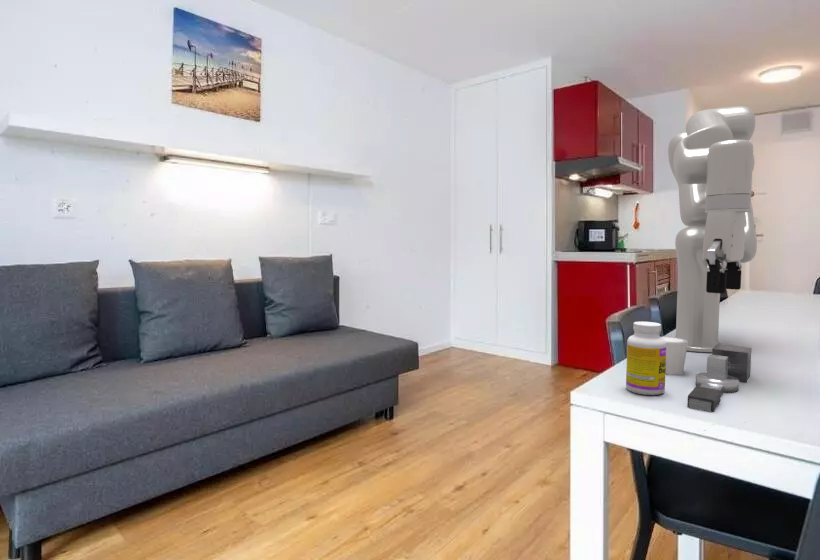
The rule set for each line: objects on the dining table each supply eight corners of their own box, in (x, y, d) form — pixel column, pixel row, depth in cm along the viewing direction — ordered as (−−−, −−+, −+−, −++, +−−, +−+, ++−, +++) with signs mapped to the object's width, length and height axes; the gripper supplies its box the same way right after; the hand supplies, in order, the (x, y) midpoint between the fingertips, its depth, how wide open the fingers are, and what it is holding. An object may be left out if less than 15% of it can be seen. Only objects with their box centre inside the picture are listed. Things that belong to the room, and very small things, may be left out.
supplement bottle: (663, 398, 87) (665, 327, 86) (623, 392, 90) (625, 324, 89) (666, 388, 93) (668, 322, 91) (628, 383, 96) (630, 319, 95)
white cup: (691, 376, 101) (692, 343, 100) (655, 374, 102) (656, 342, 101) (680, 367, 107) (681, 336, 107) (646, 366, 109) (647, 335, 108)
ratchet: (699, 380, 98) (700, 351, 97) (740, 386, 93) (742, 356, 93) (676, 405, 83) (677, 371, 83) (724, 415, 79) (725, 379, 78)
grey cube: (716, 371, 104) (717, 343, 104) (750, 376, 100) (751, 347, 100) (711, 377, 100) (712, 348, 99) (746, 382, 96) (747, 353, 95)
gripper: (719, 207, 104) (716, 286, 106) (691, 204, 93) (687, 293, 94) (761, 205, 99) (757, 289, 100) (736, 202, 87) (732, 296, 89)
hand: (723, 290), depth 97 cm, fingers open, 9 cm apart
